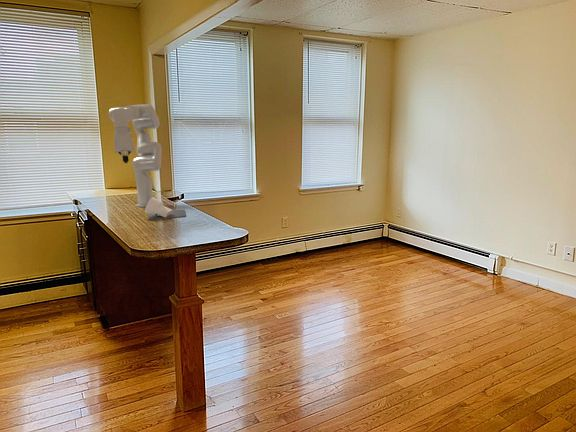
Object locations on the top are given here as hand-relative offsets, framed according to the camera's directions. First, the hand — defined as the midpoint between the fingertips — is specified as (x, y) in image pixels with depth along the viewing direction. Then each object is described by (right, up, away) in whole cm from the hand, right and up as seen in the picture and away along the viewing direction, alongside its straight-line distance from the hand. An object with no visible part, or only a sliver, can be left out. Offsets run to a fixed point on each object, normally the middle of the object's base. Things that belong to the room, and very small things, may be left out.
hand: (126, 162), depth 248 cm
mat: (+24, -30, -1) cm, 39 cm away
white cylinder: (+16, -24, -8) cm, 30 cm away
